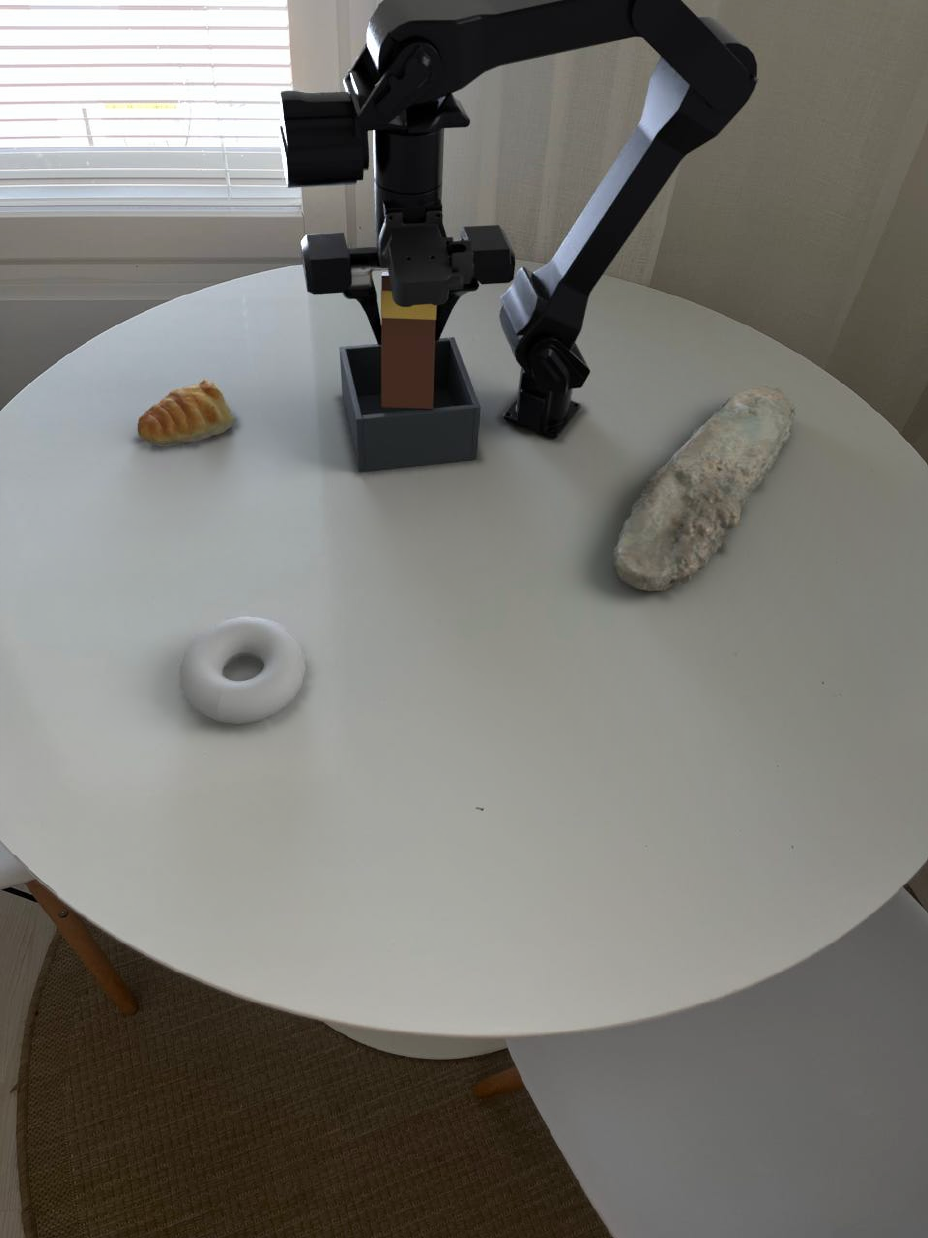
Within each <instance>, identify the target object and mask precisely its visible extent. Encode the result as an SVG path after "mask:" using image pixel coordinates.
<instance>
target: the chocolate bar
mask: <svg viewBox="0 0 928 1238" xmlns="http://www.w3.org/2000/svg"><path fill="white" fill-rule="evenodd" d="M380 283H381V285H380V287H381V289H380V321H381V407H383V408H414V409H433V393H434V357H435V321H436V305H433V304H423V305H413V306H411V307H401V306H399V305H397V304H396V303H395V302H394V301H393V297H392V290H391V284H390V278H389V273H388V271H383V272H382V273H381V281H380Z"/></svg>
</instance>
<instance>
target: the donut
mask: <svg viewBox="0 0 928 1238" xmlns="http://www.w3.org/2000/svg"><path fill="white" fill-rule="evenodd" d="M245 657H248V658H249V657H250V658H256V659H258V660H259V661H261V662H262V664H263V668H262V670H261V672H260V673H258V674H257V675H255V676H254V677H252V678H249V679H247V680H240V681H238V680H231V679H229V678H227V677H225V675H224V673H223V672H224V668H225V667H226V666H227V665H228V664H230V662H232V661H234V660H237V659H239V658H245ZM306 668H307V665H306V659H305V653H304V650H303V647H302V646H301V643H300V642H299V640H298V639H297V637H296V636H295V635H294V634H293V633H292V632H290V630H288V629H287V628H285V627H284V626H283V625H281V624H280V623H278V622H275V621H273V620H270V619H268V618H265V617H259V616H258V617H257V616H247V615H246V616H244V615H243V616H238V617H231V618H227V619H224V620H221V621H218V622H217V623H214V624H211V625H210V626H208V627H207V628H206V629H204V630H202V632H200V633H199V634H197V635H196V636H195V637H194V638H193V640H192V641H191V642H190V644H189V645H188V646H187V648H186V649H185V650H184V653H183V656H182V659H181V661H180V664H179V678H180V679H179V683H180V689H181V690H182V692H183V694H184V696H185V698H186V700H187V701H188V704H189V705H191V707H193V708H194V709H195V710H197V712H199V714H200V713H201V715H203V716H205V717H208V718H210V719H212V720H215V721H216V722H217V721H218V722H220V723H224V724H234V725H237V724H238V725H244V724H250V723H254V722H255V723H256V722H260V721H262V720H265V719H268V718H269V717H271V716H273V715H276V714H278V713H280V711H281V710H283V709H284V708H286V706H287V705H289V704H290V703H291V702H292V701H293V700H294V698H295V697H296V695H297V694H298V692H299V691H300V689H301V688H302V686H303V682H304V678H305V673H306Z"/></svg>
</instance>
